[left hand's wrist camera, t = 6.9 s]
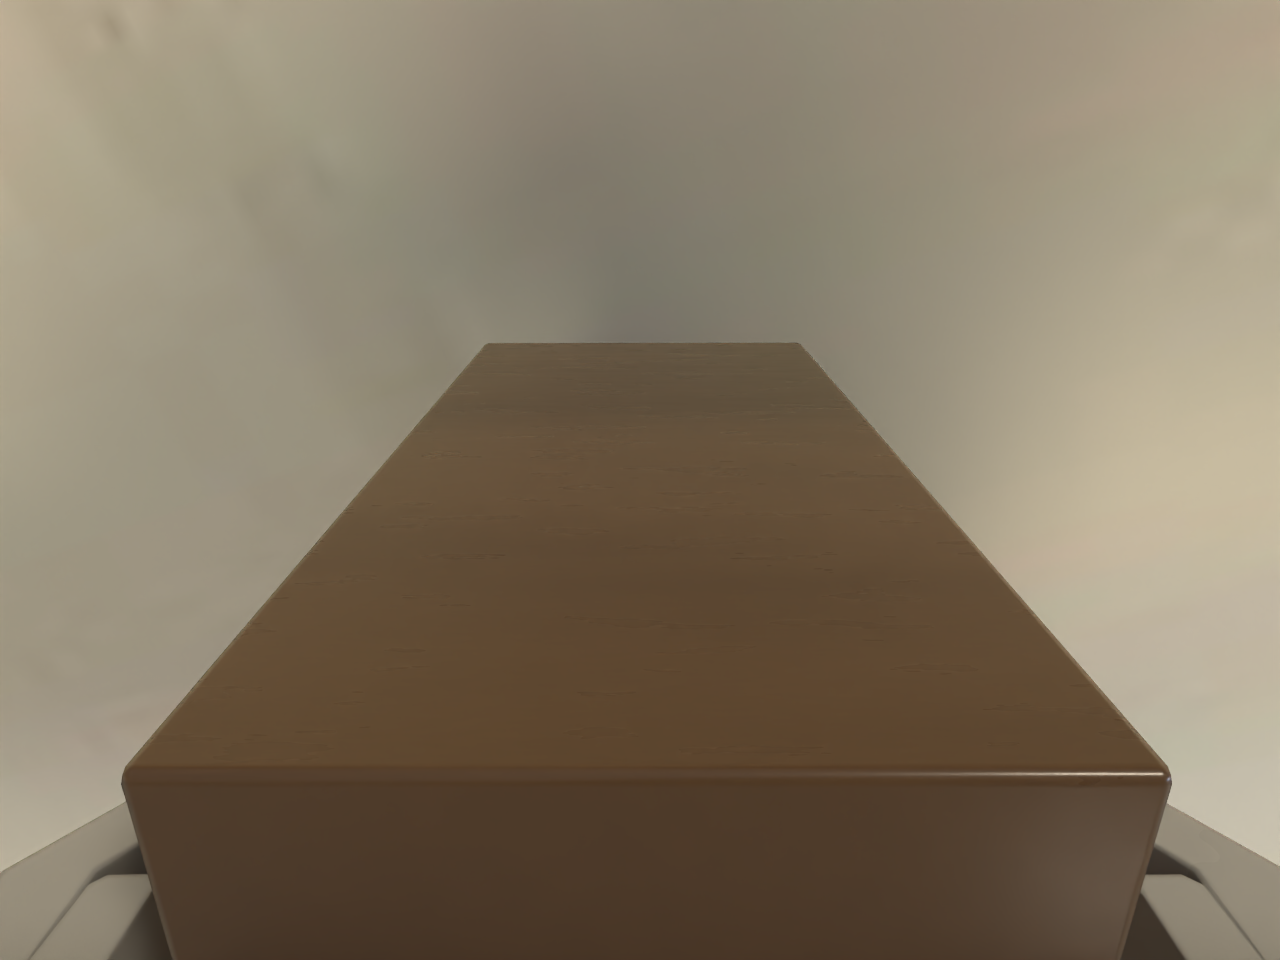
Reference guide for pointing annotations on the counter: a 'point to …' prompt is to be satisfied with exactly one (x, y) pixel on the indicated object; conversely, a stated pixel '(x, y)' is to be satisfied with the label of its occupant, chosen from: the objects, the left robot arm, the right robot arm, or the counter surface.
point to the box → (645, 701)
